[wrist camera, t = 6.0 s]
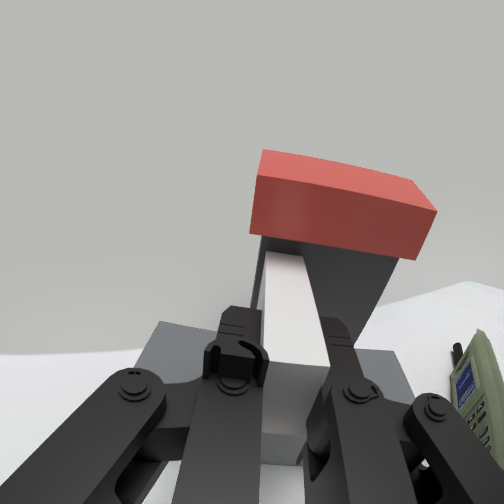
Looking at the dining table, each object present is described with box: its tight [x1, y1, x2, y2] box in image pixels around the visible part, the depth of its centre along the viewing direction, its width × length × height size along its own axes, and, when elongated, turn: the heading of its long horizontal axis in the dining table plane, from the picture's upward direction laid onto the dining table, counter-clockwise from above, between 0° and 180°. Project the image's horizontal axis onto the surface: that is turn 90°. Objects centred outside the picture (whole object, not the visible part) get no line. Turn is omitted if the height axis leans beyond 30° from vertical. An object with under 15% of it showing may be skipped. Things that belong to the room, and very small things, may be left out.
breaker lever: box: [250, 149, 437, 345], centre depth 16 cm, size 7×3×14 cm, turn 86°
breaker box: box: [134, 321, 415, 466], centre depth 21 cm, size 20×8×6 cm, turn 86°
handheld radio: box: [450, 329, 504, 472], centre depth 21 cm, size 7×3×25 cm
